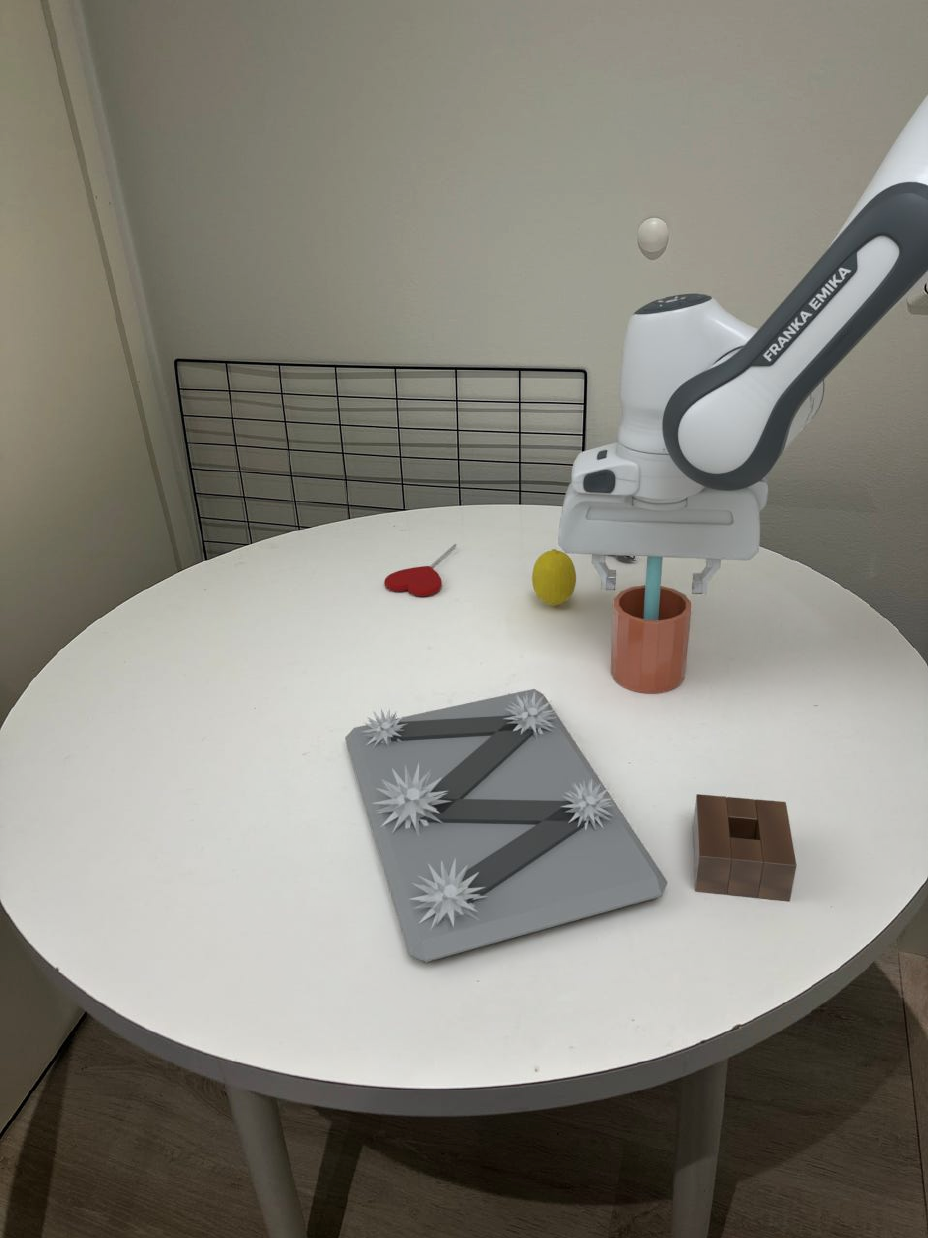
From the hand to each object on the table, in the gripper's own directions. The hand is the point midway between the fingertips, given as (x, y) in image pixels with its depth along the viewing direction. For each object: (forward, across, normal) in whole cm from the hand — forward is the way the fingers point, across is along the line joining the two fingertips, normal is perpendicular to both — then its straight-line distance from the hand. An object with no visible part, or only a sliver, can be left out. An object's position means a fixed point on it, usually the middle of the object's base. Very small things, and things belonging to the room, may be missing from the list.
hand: (653, 589), depth 95 cm
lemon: (+11, +12, -14) cm, 21 cm away
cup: (+11, 0, 0) cm, 11 cm away
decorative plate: (+11, +14, +25) cm, 31 cm away
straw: (+10, 0, 0) cm, 10 cm away
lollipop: (+11, +30, -22) cm, 39 cm away
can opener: (+11, +6, -29) cm, 32 cm away
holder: (+11, -8, +28) cm, 31 cm away
